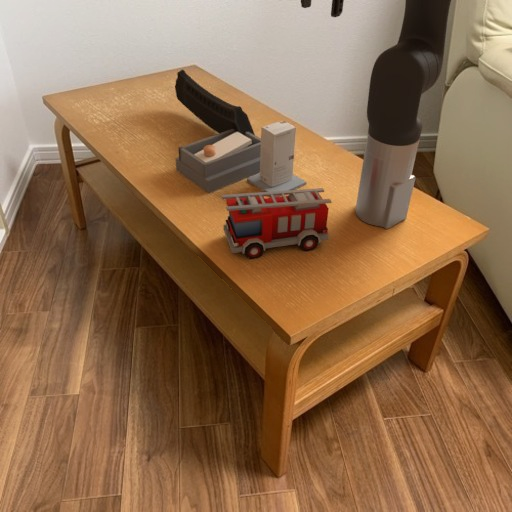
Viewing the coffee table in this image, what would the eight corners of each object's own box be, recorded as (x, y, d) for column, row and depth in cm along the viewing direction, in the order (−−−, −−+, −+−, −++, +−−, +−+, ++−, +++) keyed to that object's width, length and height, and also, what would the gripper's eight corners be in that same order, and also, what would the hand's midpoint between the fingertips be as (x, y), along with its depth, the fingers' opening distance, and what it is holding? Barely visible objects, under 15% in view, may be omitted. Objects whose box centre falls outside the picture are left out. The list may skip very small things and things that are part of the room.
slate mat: (306, 184, 118) (306, 181, 118) (274, 198, 114) (275, 196, 113) (278, 167, 123) (278, 165, 123) (247, 180, 119) (247, 178, 118)
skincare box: (271, 188, 115) (274, 135, 108) (258, 179, 118) (259, 127, 111) (293, 179, 118) (297, 127, 111) (280, 170, 121) (283, 119, 114)
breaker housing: (236, 148, 130) (236, 124, 127) (270, 168, 123) (271, 143, 120) (176, 170, 122) (174, 145, 118) (208, 193, 115) (207, 167, 111)
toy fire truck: (220, 233, 104) (219, 188, 98) (314, 221, 108) (319, 176, 102) (230, 263, 97) (230, 216, 91) (330, 248, 101) (336, 202, 95)
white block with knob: (237, 135, 124) (236, 125, 122) (251, 143, 121) (250, 133, 119) (194, 158, 119) (192, 148, 117) (208, 167, 116) (206, 157, 114)
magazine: (258, 118, 119) (178, 43, 130) (246, 125, 118) (167, 49, 129) (258, 167, 134) (186, 96, 145) (247, 174, 133) (176, 102, 144)
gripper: (370, -76, 102) (358, 16, 112) (315, -86, 110) (309, 1, 120) (342, -73, 98) (332, 23, 108) (288, -83, 106) (283, 7, 116)
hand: (320, 11), depth 114 cm, fingers open, 8 cm apart
